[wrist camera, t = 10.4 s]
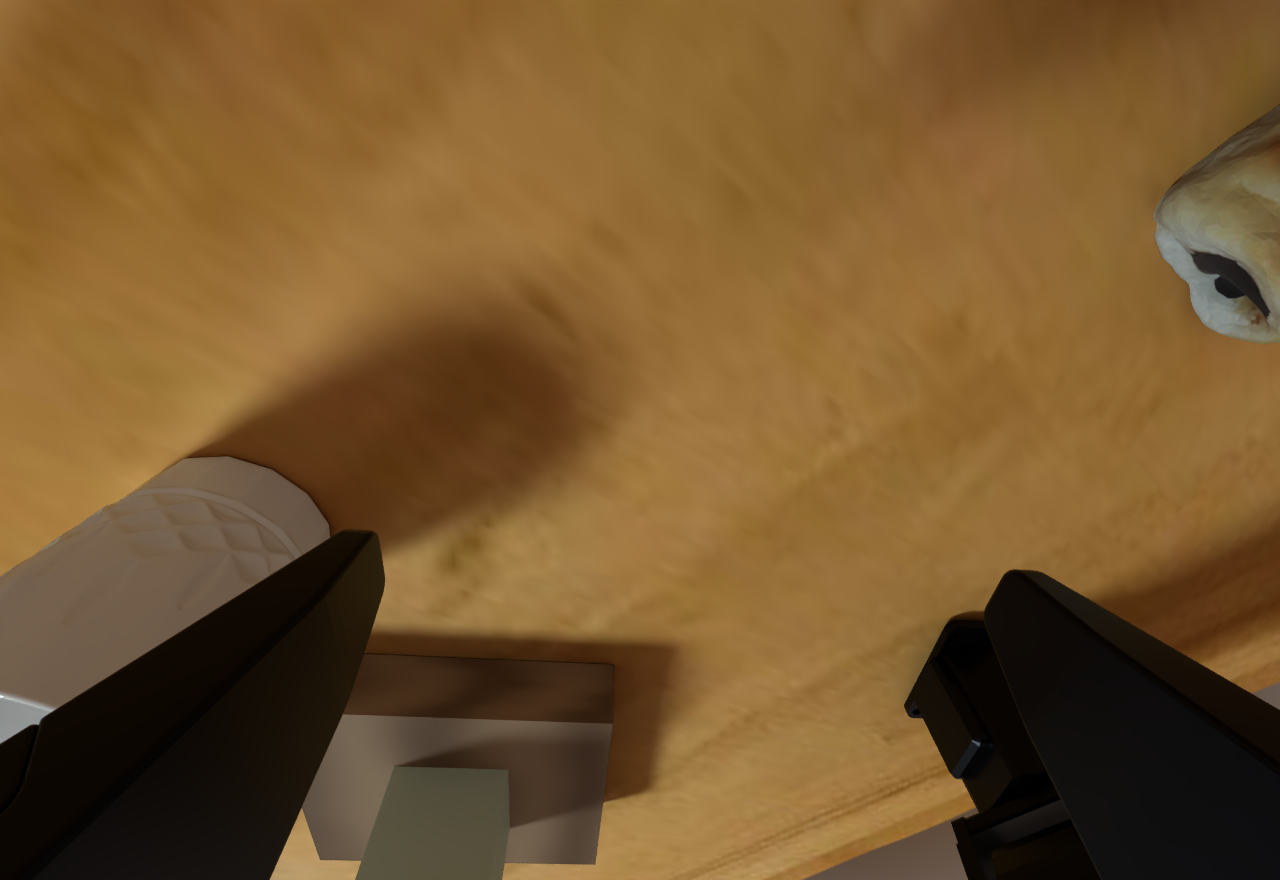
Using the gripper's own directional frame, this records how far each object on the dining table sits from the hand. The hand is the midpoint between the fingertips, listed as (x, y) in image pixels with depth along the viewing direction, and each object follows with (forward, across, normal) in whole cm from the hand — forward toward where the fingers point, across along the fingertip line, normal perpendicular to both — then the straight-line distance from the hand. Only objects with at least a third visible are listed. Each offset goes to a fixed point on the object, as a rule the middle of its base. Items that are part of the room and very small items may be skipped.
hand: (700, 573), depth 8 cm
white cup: (+12, +15, +10) cm, 22 cm away
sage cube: (+9, +7, +23) cm, 26 cm away
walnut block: (+12, +7, +23) cm, 27 cm away
